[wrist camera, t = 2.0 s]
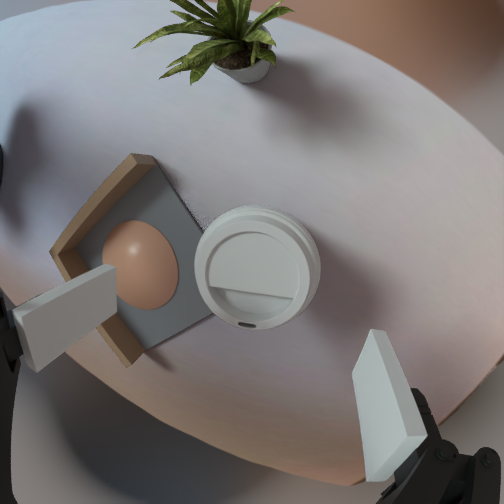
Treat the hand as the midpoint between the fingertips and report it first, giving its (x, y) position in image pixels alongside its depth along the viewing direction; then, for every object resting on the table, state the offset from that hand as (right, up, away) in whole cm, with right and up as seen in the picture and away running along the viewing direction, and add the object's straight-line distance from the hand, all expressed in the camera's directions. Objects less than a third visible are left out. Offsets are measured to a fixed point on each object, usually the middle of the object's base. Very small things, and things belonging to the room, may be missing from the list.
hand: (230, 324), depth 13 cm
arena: (-15, +1, +25) cm, 29 cm away
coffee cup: (+4, +5, +20) cm, 21 cm away
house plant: (0, +27, +16) cm, 32 cm away
